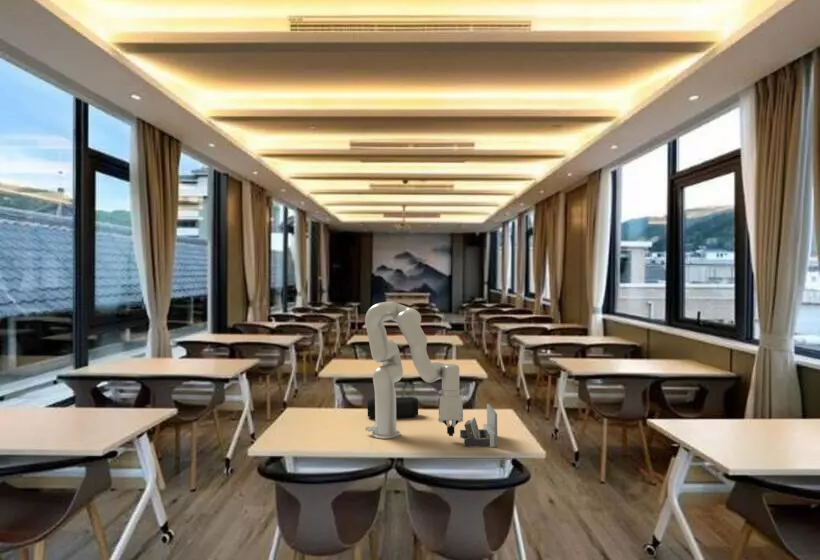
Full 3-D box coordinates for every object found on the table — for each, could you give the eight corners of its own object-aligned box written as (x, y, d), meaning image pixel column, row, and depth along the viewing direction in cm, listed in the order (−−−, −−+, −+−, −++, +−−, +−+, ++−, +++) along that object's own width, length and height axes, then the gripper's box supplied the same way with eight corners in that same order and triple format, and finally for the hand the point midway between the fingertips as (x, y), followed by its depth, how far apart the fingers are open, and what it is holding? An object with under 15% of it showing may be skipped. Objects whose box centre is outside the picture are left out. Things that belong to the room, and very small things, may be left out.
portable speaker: (367, 420, 282) (367, 400, 282) (367, 415, 292) (367, 396, 292) (418, 418, 284) (418, 399, 284) (416, 414, 294) (416, 394, 294)
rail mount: (465, 448, 235) (464, 414, 234) (459, 435, 254) (459, 404, 253) (497, 447, 235) (497, 413, 235) (489, 434, 254) (489, 403, 254)
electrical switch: (477, 443, 241) (475, 421, 241) (465, 444, 242) (463, 422, 243) (480, 437, 250) (478, 416, 250) (469, 438, 251) (467, 417, 252)
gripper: (434, 395, 240) (434, 438, 240) (469, 394, 240) (469, 437, 241) (432, 391, 247) (432, 433, 247) (466, 391, 248) (466, 432, 248)
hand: (450, 435), depth 244 cm, fingers closed
